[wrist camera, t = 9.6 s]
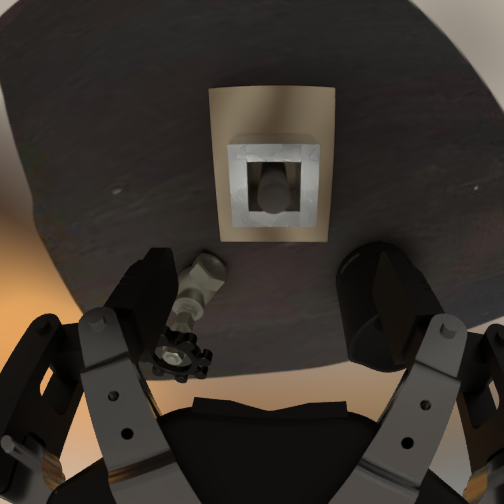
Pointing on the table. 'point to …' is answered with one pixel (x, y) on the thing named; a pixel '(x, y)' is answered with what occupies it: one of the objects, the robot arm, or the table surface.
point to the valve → (189, 320)
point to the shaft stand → (272, 173)
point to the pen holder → (364, 309)
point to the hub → (274, 150)
